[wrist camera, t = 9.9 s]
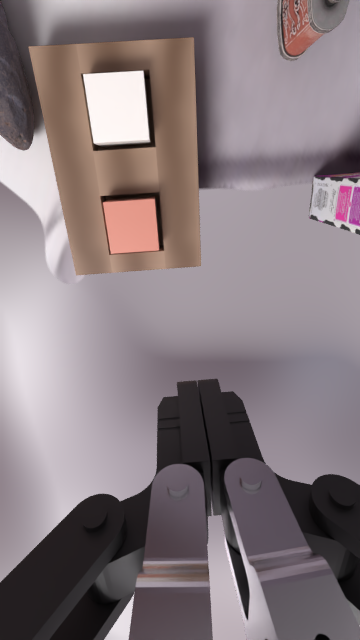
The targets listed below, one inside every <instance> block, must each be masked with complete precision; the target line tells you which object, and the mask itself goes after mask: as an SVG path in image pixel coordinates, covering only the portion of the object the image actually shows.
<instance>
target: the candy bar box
mask: <svg viewBox="0 0 360 640" xmlns="http://www.w3.org/2000/svg"><path fill="white" fill-rule="evenodd" d="M309 218H310V219H313V220H316V221H320V222H323V223H326V224H329V225H332V226H335V227H338V228H341V229H344V230H348V231H350V232H353V233H356V234H359V235H360V172H359V173H348V174H335V175H322V176H314V177H313V184H312V195H311V203H310V210H309Z"/></svg>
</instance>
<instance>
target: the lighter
mask: <svg viewBox="0 0 360 640" xmlns="http://www.w3.org/2000/svg"><path fill="white" fill-rule="evenodd" d="M348 3H349V0H278V2H277V35H278V45H279V52H280V55H281V56H282V58H283V59H285V60H287V61H294V60H296V59H298V58H299V57H301V56H302V55H303V54H304V53H305V52H306V50H307V49H308V47H309V46H311V45H312V44H313V43H314V42H315V41H316V40H318V39H319V38H320V37H321V36H322V35H323V34H325V33H328V32H330V31H331V30H333V29H334V28H335V27H337V26H338V25H339V24H340V23H341V21H342V20H343V19H344V16H345V14H346V11H347V7H348Z"/></svg>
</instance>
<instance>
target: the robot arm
mask: <svg viewBox="0 0 360 640" xmlns="http://www.w3.org/2000/svg"><path fill="white" fill-rule="evenodd" d="M177 388H178V396H174V397H164V398H163V399H162V401H161V403H160V405H159V406H158V425H157V428H158V431H157V471H156V475H155V477H154V479H153V481H152V482H151V484H150V485H149V486H148V487H147V488H146V489H145V490H143V491H142V492H140V493H139V494H137V495H135V496H133V497H130V498H127V499H125V500H123V501H119V500H118V499H117V498H115V497H114V496H112V495H109V494H97V495H93V496H90V497H88V498H87V499H85V500H83V501H82V502H80V503H79V504H78V505H77V506H76V507H75V508H74V509H73V510H72V511H71V512H70V513H69V514H68V515H67V516H66V517H65V518H64V519H63V520H62V521H61V522H60V523H59V524H58V525H57V526H56V527H55V528H54V529H53V530H52V531H51V532H50V533H49V534H48V535H47V536H46V537H45V538H44V539H43V540H42V541H41V542H40V543H39V544H38V545H37V546H36V547H35V548H34V549H33V550H32V551H31V552H30V553H29V554H28V555H27V556H26V557H25V558H24V559H23V560H22V561H21V562H20V563H19V564H18V565H17V566H16V568H14V569H13V570H12V571H11V572H10V573H9V575H7V576H6V577H5V578H4V579H3V580H2V581H1V582H0V640H104V639H105V637H106V636H107V634H108V633H109V631H110V630H111V628H112V627H113V625H114V623H115V622H116V621H117V619H118V618H119V616H120V615H121V613H122V612H123V610H124V609H125V607H126V606H127V604H128V603H129V601H130V600H131V598H132V596H133V594H134V601H133V609H132V617H131V626H130V634H129V640H213V636H212V619H211V601H210V582H209V569H208V550H207V544H208V516H211V502H212V508H213V515H222V520H223V526H224V543H225V548H226V552H227V556H228V560H229V564H230V568H231V573H232V577H233V581H234V585H235V589H236V593H237V598H238V601H239V606H240V610H241V614H242V618H243V622H244V628H245V633H246V640H360V626H359V625H360V485H358V484H356V483H355V482H353V481H352V480H350V479H348V478H346V477H343V476H339V475H333V474H332V475H331V474H328V475H323V476H320V477H318V478H317V479H316V480H315V481H314V482H313V484H312V485H310V484H305V483H300V482H295V481H291V480H288V479H285V478H283V477H281V476H279V475H277V474H276V473H274V472H273V471H272V469H271V468H270V467H269V466H268V465H266V463H265V462H264V460H263V457H262V455H261V452H260V449H259V446H258V444H257V441H256V438H255V435H254V432H253V430H252V427H251V424H250V422H249V418H248V416H247V414H246V410H245V407H244V404H243V401H242V400H241V399H240V398H239V397H238V396H237V395H236V394H235V393H234V392H221V390H220V386H219V382H218V379H208V380H198V387H197V382H196V381H184V382H177ZM134 592H135V593H134Z"/></svg>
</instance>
